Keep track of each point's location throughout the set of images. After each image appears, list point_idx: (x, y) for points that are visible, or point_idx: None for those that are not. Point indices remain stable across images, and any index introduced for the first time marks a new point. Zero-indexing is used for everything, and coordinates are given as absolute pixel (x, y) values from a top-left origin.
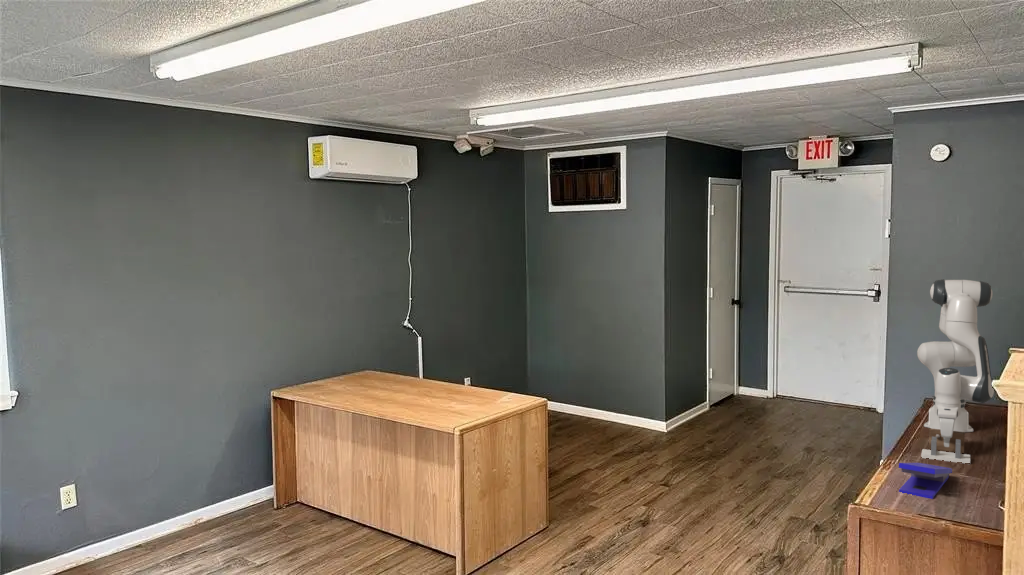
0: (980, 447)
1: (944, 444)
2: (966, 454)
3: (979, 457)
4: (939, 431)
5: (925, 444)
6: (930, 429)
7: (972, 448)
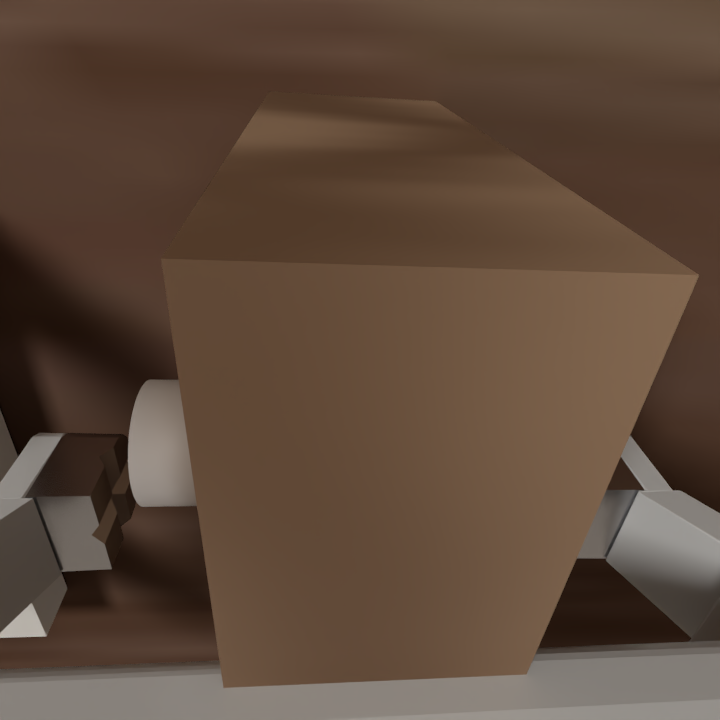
0: (633, 633)
1: (21, 465)
2: (22, 612)
3: (198, 640)
4: (219, 622)
5: (686, 23)
6: (368, 324)
7: (572, 590)
